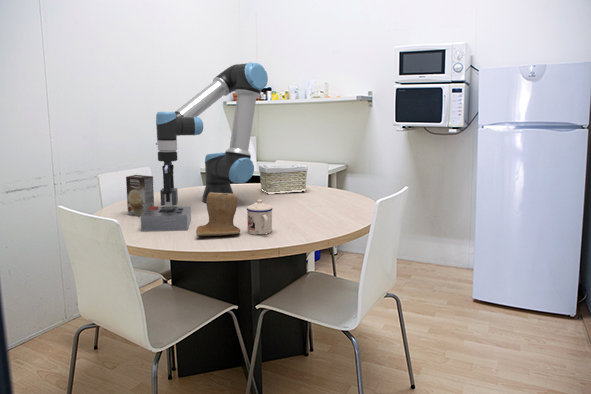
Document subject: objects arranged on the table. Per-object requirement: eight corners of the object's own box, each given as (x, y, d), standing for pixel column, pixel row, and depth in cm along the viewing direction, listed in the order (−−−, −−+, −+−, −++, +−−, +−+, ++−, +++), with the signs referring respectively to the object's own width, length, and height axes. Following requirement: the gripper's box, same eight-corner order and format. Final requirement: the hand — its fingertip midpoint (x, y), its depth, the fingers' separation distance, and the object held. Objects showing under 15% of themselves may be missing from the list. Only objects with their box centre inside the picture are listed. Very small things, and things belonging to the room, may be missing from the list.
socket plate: (190, 219, 179) (190, 204, 178) (187, 230, 164) (186, 212, 163) (148, 220, 177) (148, 205, 176) (141, 231, 161) (140, 213, 160)
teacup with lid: (243, 230, 164) (243, 198, 162) (267, 228, 168) (267, 197, 166) (253, 238, 153) (253, 204, 151) (279, 236, 157) (279, 203, 155)
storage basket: (265, 195, 236) (264, 167, 233) (257, 190, 251) (257, 163, 248) (308, 193, 243) (308, 166, 240) (298, 188, 258) (299, 162, 256)
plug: (178, 214, 189) (177, 188, 187) (176, 217, 183) (175, 190, 181) (163, 214, 188) (162, 188, 186) (161, 217, 182) (160, 190, 180)
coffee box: (126, 215, 186) (124, 176, 183) (137, 212, 192) (135, 174, 189) (145, 217, 183) (143, 177, 181) (155, 214, 189) (153, 175, 186)
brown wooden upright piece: (237, 229, 166) (237, 188, 163) (241, 237, 155) (241, 194, 152) (195, 231, 162) (194, 189, 160) (196, 240, 151) (195, 195, 148)
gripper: (161, 149, 190) (163, 203, 194) (153, 153, 171) (156, 213, 175) (179, 149, 191) (181, 203, 195) (174, 153, 172) (176, 212, 176)
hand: (169, 207), depth 185 cm, fingers closed on plug, 6 cm apart
